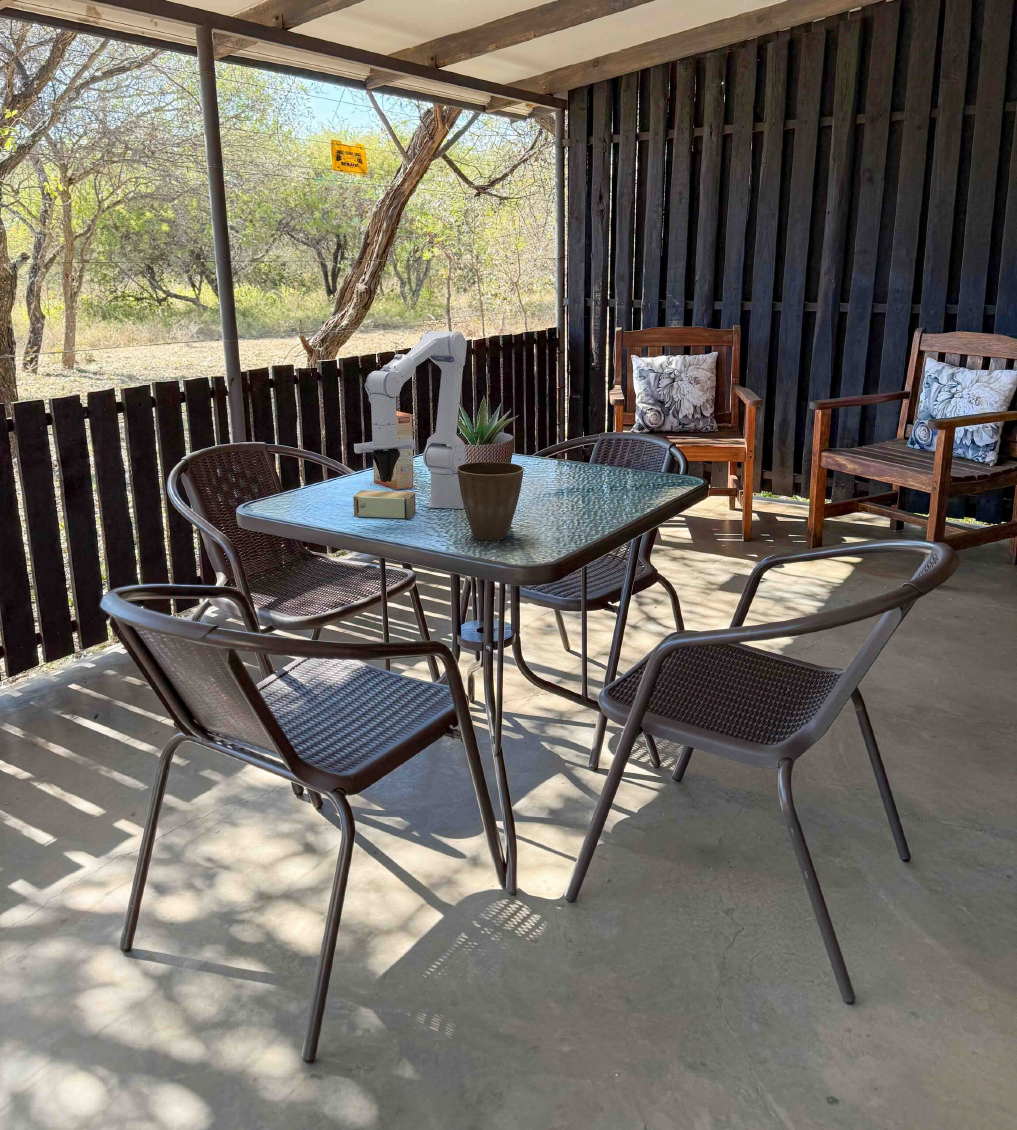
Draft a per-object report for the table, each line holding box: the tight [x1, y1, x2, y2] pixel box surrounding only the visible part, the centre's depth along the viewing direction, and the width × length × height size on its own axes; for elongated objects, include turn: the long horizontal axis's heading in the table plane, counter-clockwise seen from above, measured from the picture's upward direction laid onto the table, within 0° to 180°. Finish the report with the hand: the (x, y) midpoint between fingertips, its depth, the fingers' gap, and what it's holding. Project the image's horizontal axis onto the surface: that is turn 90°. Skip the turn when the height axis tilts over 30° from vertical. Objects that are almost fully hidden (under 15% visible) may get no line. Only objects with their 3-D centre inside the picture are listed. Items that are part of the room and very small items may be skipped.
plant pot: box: [457, 461, 525, 542], centre depth 215 cm, size 15×15×16 cm
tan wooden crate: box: [352, 489, 417, 519], centre depth 237 cm, size 14×7×5 cm, turn 83°
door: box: [358, 496, 412, 520], centre depth 233 cm, size 13×2×5 cm, turn 82°
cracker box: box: [372, 410, 414, 491], centre depth 269 cm, size 14×6×21 cm, turn 34°
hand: (385, 481), depth 225 cm, fingers closed
